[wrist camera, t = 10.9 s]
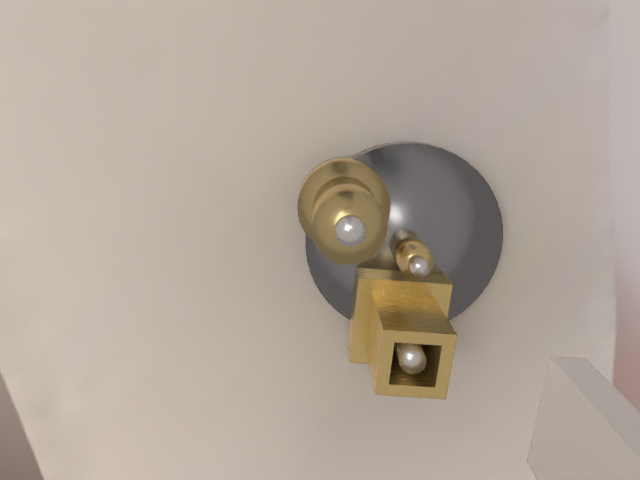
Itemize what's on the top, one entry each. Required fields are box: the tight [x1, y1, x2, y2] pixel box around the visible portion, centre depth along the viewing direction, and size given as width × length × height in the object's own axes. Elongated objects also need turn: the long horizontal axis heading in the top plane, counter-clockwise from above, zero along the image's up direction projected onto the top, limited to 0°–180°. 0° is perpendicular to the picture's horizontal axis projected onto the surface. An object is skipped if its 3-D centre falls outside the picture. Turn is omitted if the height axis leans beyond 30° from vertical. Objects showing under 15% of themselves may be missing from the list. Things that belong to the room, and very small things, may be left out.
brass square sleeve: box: [347, 267, 457, 399], centre depth 30 cm, size 6×6×7 cm
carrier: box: [298, 142, 503, 374], centre depth 29 cm, size 13×14×9 cm
